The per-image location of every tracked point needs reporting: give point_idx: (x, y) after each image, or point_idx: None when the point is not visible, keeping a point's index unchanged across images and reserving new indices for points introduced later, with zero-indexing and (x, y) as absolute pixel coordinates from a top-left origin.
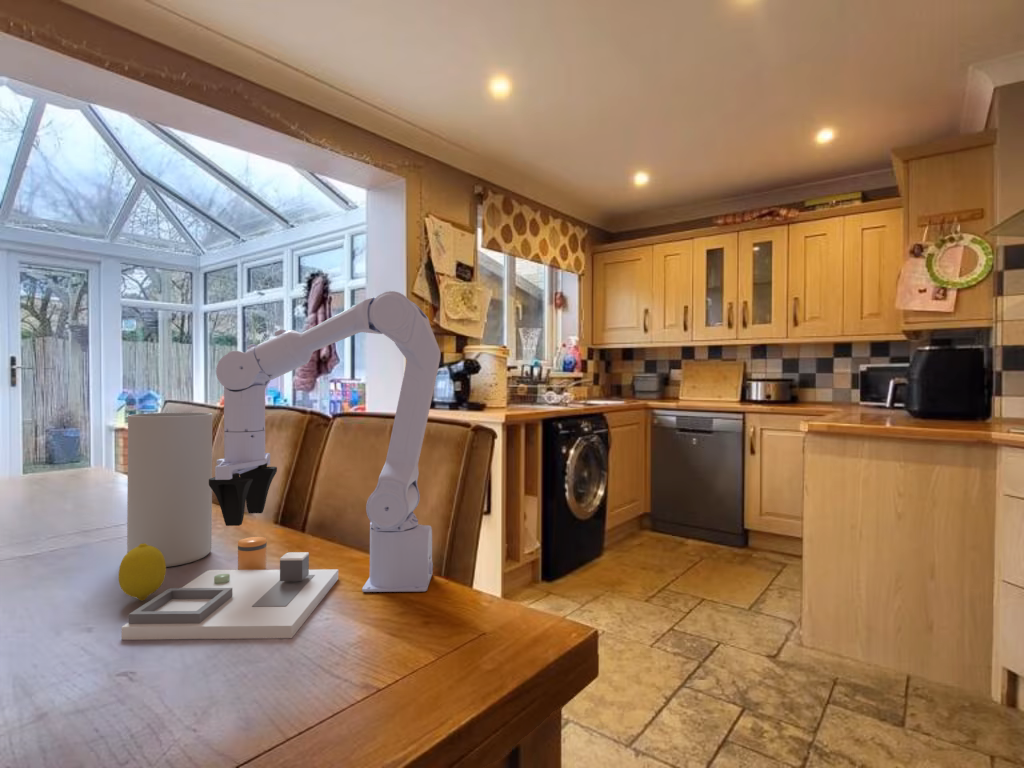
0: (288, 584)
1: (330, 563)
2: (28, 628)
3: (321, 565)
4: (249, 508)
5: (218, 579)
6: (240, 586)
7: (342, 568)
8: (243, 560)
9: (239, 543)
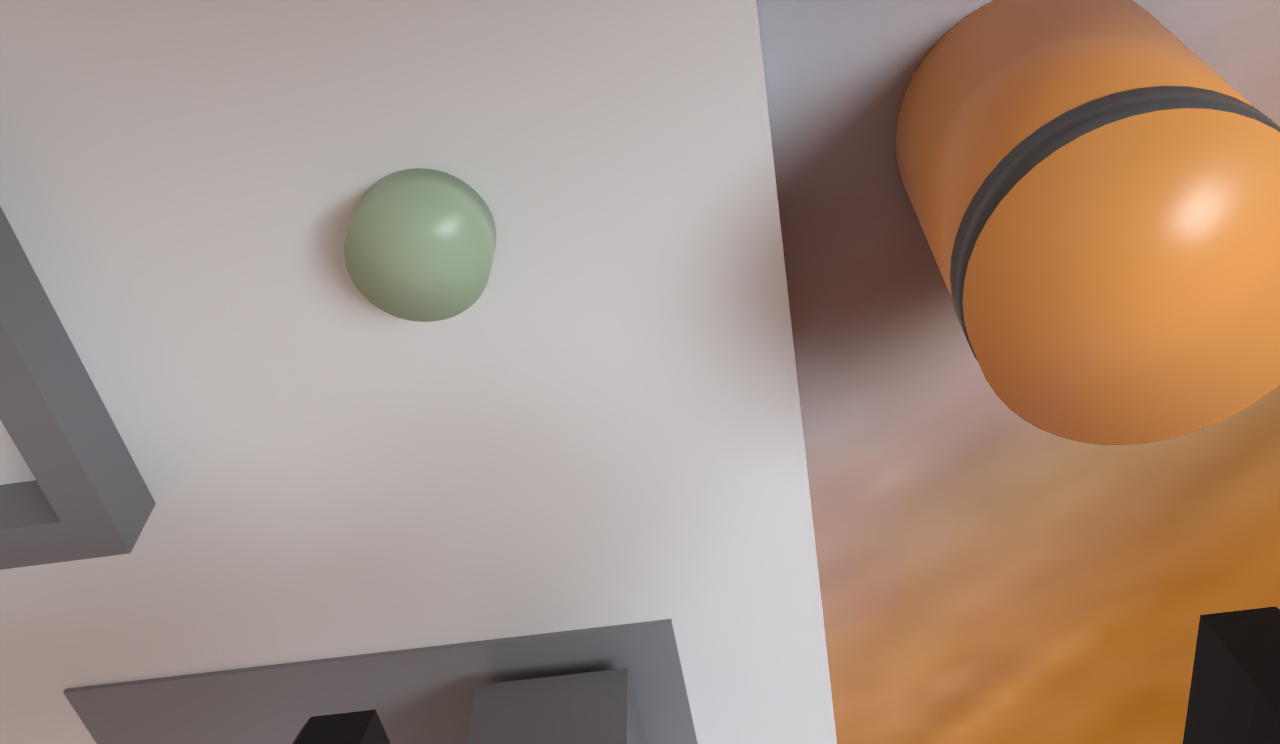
0: None
1: None
2: None
3: (1157, 597)
4: (1234, 705)
5: (351, 262)
6: (359, 448)
7: (1068, 734)
8: (929, 187)
9: (1015, 216)
